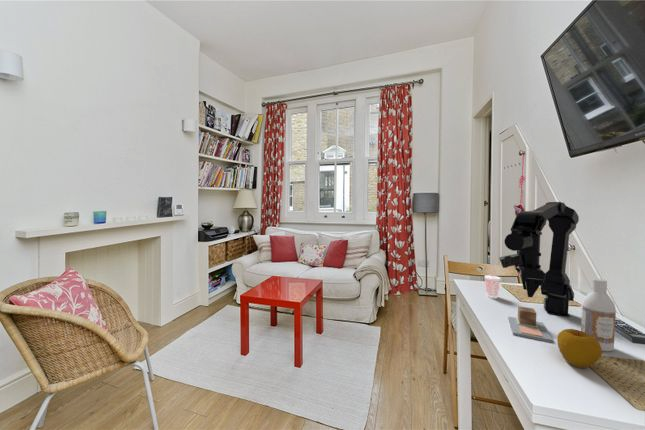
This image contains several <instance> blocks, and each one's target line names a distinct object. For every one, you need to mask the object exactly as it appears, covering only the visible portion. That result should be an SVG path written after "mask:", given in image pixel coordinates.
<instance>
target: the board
mask: <svg viewBox="0 0 645 430" xmlns="http://www.w3.org/2000/svg"><path fill="white" fill-rule="evenodd" d="M507 319H508V323H509V325H510V326H509V327H510V330H511V332H512V333H511V334H512V335H513V336H518V337H523V338H528V339H532V340H537V341H542V342H543V341H544V342H548V343H553V341H554V339H553V338H552V336H551V334H550V332H549V331H548V329H547V328H546V326H545V323H544V322H542V321H537V320H536V326H532V325H526V324H521V323H519V321H518V317H513V316H507Z"/></svg>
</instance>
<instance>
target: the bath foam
mask: <svg viewBox="0 0 645 430" xmlns="http://www.w3.org/2000/svg"><path fill="white" fill-rule="evenodd" d="M607 287H608V281H607V280H606V279H602V278H593V279H592V287H591V288H592V290H591V291H590V292H589V293H588V294H587V295H586V296H585V297H584V299H583V301H582V305H581V327H580V328H581V330H580V331H582V332H585V333H587V334H589V335H591V336H593V337H594V338H595V339H596V340H597V341H598V342H599V344H600V346H601V349H602V352H613V351H614V349H615V338H616V335H615V334H616V333H615V331H616V313H617V310H616V306H615V303H614V301H613V300H612V297H610V296H609V294H608V293H607V291H608V290H607V289H608V288H607Z"/></svg>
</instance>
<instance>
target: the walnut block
mask: <svg viewBox="0 0 645 430" xmlns="http://www.w3.org/2000/svg"><path fill="white" fill-rule="evenodd" d="M517 318H518V321H519V323H521V324H526V325H532V326H536V321H537V312H536V310H535V308H533V307H525V306H520V305H518V306H517Z"/></svg>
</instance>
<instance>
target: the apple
mask: <svg viewBox="0 0 645 430" xmlns="http://www.w3.org/2000/svg"><path fill="white" fill-rule="evenodd" d="M556 339H557V347H558V350H559V352H560V355H561V356H562V357H563V359H564V360H565V361H566V362H567V363H568V364H570V365H571V366H573V367H577V368H580V369H584V368H586V369H587V368H589V367H591V366H593V365H594V364H596V363H597V362H598V361H599V360H600V359H601V358H602V355H603V351H602V349H601V346H600V344H599V342H598V341H597V340H596V339H595V338H594V337H593V336H591V335H589V334H587V333H585V332H582V331H581V330H579V329H574V328H566V329H562V330H561V331H560V332H559V333H558V334H557V337H556Z"/></svg>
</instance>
